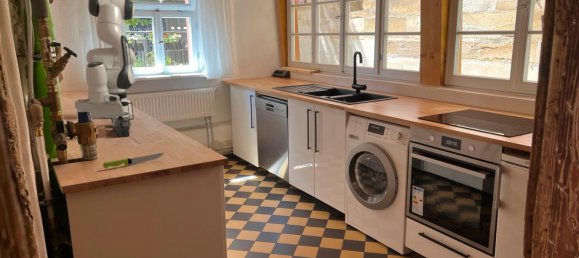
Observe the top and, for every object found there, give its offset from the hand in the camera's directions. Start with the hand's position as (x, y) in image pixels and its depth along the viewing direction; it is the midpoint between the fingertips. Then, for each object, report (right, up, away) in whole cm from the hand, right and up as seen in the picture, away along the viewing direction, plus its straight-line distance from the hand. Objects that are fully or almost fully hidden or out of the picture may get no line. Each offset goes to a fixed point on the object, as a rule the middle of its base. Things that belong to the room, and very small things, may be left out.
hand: (102, 127), depth 203 cm
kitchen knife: (+31, -14, -43) cm, 55 cm away
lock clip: (-1, -4, +1) cm, 4 cm away
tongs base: (+7, -3, +7) cm, 10 cm away
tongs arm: (+9, -3, +5) cm, 11 cm away
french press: (+1, +1, +22) cm, 22 cm away
